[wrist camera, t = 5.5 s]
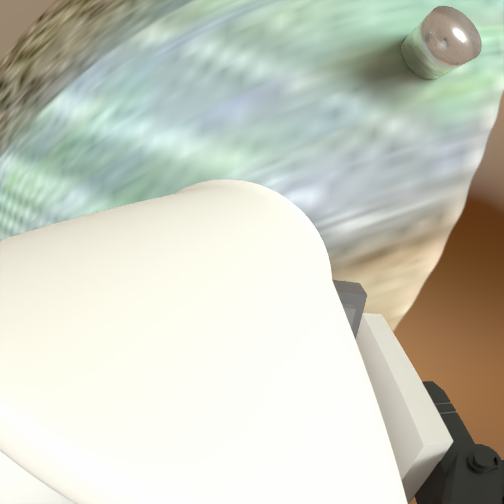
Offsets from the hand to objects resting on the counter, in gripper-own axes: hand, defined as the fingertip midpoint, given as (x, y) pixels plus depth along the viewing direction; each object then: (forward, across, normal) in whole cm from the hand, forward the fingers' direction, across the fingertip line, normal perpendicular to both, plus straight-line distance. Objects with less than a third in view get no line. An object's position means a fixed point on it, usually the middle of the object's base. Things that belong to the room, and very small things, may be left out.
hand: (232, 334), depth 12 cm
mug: (+2, 0, 0) cm, 2 cm away
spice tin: (+18, +14, +20) cm, 30 cm away
